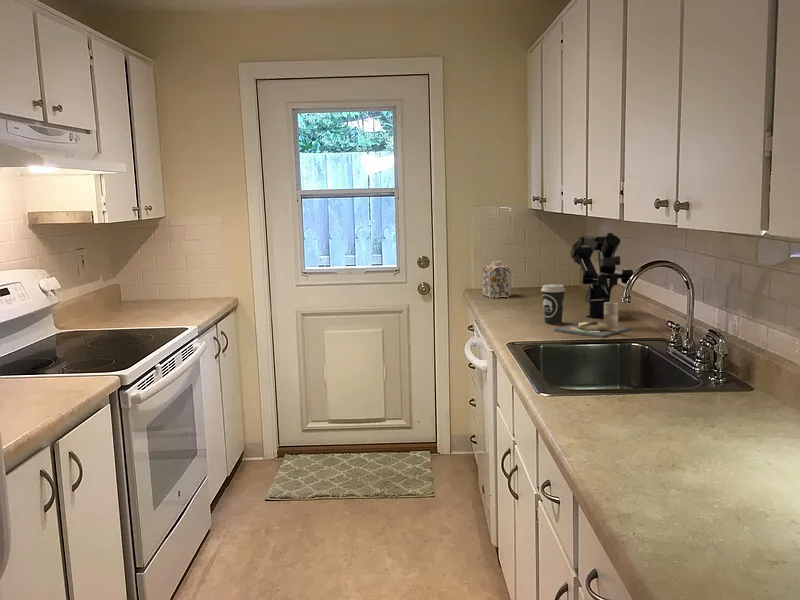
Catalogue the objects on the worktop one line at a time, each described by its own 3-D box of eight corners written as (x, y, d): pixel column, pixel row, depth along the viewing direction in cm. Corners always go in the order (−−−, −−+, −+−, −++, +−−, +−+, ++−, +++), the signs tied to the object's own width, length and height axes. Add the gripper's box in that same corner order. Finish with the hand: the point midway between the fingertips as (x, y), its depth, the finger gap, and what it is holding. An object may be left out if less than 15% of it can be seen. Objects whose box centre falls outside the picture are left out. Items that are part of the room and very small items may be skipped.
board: (584, 323, 271) (584, 320, 271) (631, 329, 256) (631, 326, 256) (554, 331, 258) (554, 328, 257) (601, 337, 243) (601, 334, 243)
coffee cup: (566, 325, 269) (566, 286, 267) (541, 324, 271) (540, 287, 269) (565, 320, 278) (565, 283, 276) (541, 320, 280) (540, 284, 278)
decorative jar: (482, 295, 357) (481, 261, 355) (503, 294, 359) (503, 260, 357) (489, 298, 345) (489, 263, 343) (511, 297, 348) (511, 262, 345)
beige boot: (569, 329, 254) (569, 302, 253) (587, 324, 263) (588, 298, 261) (606, 334, 243) (606, 306, 242) (624, 328, 252) (624, 301, 250)
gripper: (582, 249, 266) (584, 281, 257) (633, 248, 262) (637, 281, 253) (581, 267, 275) (583, 299, 266) (630, 266, 271) (633, 298, 262)
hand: (609, 294), depth 261 cm, fingers closed
